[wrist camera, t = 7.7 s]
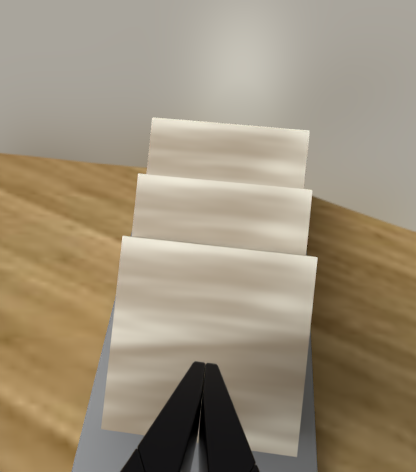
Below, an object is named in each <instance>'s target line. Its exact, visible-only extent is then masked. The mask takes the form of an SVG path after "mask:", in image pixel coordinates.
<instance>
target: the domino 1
mask: <svg viewBox="0 0 416 472" xmlns="http://www.w3.org/2000/svg"><path fill="white" fill-rule="evenodd" d="M317 259H318V257H313V256H307V255H298V254H289V253H280V252H271V251H262V250H253V249H244V248H234V247H225V246H216V245H207V244H198V243H189V242H179V241H170V240H161V239H152V238H143V237H134V236H123V237H122V246H121V255H120V264H119V273H118V282H117V291H116V300H115V309H114V318H113V327H112V336H111V345H110V354H109V363H108V372H107V380H106V389H105V398H104V407H103V416H102V425H101V429H104V430H111V431H118V432H125V433H132V434H139V435H145V434H146V432H147V431H148V429H149V428H150V426H151V425H152V423H153V422H154V420H155V419H156V417H157V416H158V414H159V413H160V411H161V410H162V408H163V407H164V405H165V404H166V402H167V401H168V399H169V398H170V396H171V395H172V393H173V392H174V390H175V389H176V387H177V386H178V384H179V383H180V381H181V380H182V378H183V377H184V375H185V374H186V372H187V371H188V369H189V368H190V366H191V365H192V363H193V362H194V361H199V362H204V363H205V365H206V363H215V364H217V365H218V366H219V369H220V372H221V374H222V377H223V379H224V382H225V384H226V387H227V389H228V392H229V395H230V397H231V400H232V402H233V405H234V407H235V410H236V412H237V415H238V418H239V420H240V423H241V425H242V428H243V430H244V433H245V436H246V438H247V441H248V443H249V446H250V448H251V451H258V452H265V453H272V454H279V455H286V456H293V457H297V452H298V442H299V432H300V423H301V413H302V403H303V394H304V384H305V375H306V365H307V355H308V346H309V336H310V326H311V317H312V307H313V297H314V288H315V278H316V268H317ZM204 375H205V374H204ZM202 394H203V393H202ZM201 404H202V403H201ZM200 414H201V413H200ZM199 424H200V423H199ZM198 441H199V431H198V437H197V443H198Z"/></svg>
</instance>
